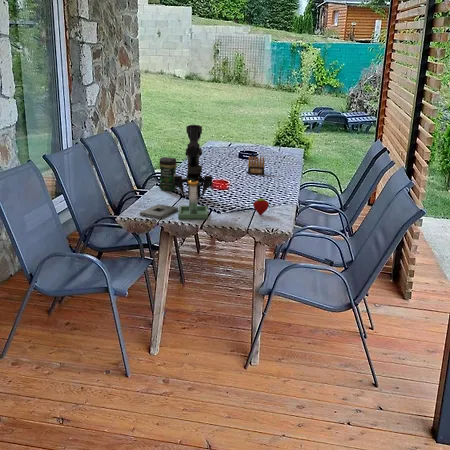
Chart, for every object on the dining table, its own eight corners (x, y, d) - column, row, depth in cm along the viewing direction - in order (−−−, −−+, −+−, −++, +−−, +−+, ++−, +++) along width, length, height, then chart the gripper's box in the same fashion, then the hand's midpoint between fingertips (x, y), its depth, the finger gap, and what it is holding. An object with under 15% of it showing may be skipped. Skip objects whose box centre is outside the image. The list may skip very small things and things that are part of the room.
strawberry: (268, 217, 258) (269, 197, 255) (253, 217, 258) (254, 197, 255) (267, 213, 264) (268, 194, 261) (252, 213, 264) (253, 193, 260)
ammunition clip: (247, 174, 342) (248, 156, 339) (247, 173, 344) (248, 155, 340) (264, 175, 341) (264, 156, 337) (264, 174, 343) (265, 156, 339)
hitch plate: (158, 206, 272) (158, 204, 271) (178, 210, 267) (178, 207, 266) (139, 215, 259) (139, 212, 258) (160, 219, 253) (159, 216, 253)
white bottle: (199, 212, 262) (199, 180, 256) (197, 215, 257) (196, 182, 252) (189, 211, 263) (189, 179, 258) (186, 214, 258) (186, 182, 253)
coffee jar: (158, 190, 302) (157, 158, 296) (163, 187, 310) (162, 155, 304) (173, 191, 300) (173, 159, 294) (178, 188, 307) (178, 156, 301)
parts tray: (179, 210, 266) (179, 205, 265) (207, 210, 267) (207, 206, 266) (178, 219, 253) (178, 214, 252) (207, 219, 254) (207, 214, 253)
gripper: (173, 159, 255) (172, 187, 248) (212, 159, 255) (212, 187, 248) (174, 171, 265) (174, 199, 258) (212, 171, 265) (212, 199, 258)
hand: (193, 196), depth 255 cm, fingers open, 9 cm apart
